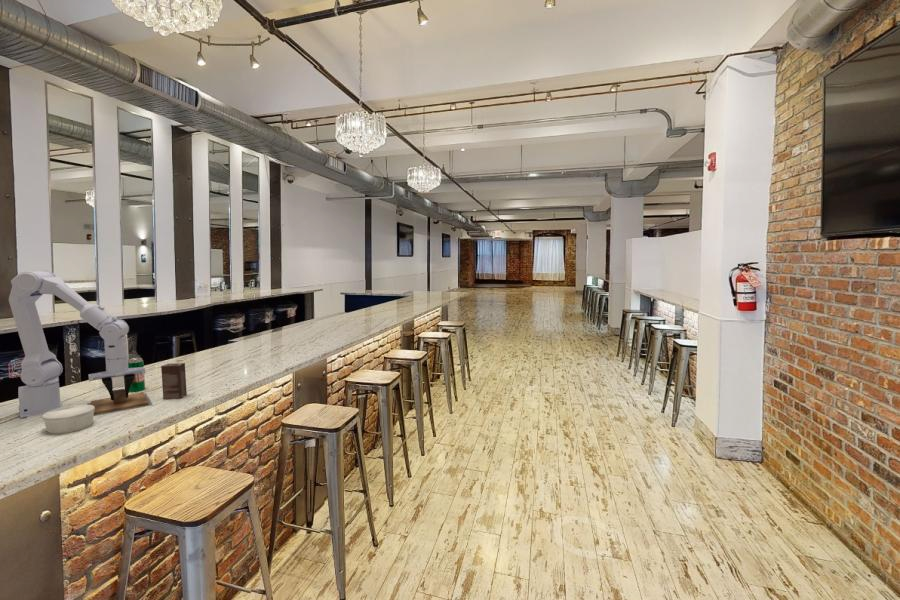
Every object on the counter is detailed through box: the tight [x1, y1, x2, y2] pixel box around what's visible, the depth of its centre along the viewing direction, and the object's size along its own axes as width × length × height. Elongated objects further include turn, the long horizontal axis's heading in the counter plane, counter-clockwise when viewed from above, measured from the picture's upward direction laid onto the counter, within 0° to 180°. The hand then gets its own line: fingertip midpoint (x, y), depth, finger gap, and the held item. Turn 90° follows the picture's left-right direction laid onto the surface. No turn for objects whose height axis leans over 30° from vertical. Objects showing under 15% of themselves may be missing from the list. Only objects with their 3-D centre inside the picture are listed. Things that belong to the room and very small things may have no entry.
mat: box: [86, 393, 154, 417], centre depth 141 cm, size 16×16×1 cm
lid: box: [90, 388, 149, 415], centre depth 140 cm, size 14×14×4 cm
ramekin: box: [42, 404, 95, 434], centre depth 122 cm, size 11×11×5 cm
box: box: [160, 362, 188, 400], centre depth 148 cm, size 6×4×12 cm
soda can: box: [128, 357, 146, 393], centre depth 155 cm, size 5×5×12 cm
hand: (119, 398), depth 141 cm, fingers closed on lid, 3 cm apart
